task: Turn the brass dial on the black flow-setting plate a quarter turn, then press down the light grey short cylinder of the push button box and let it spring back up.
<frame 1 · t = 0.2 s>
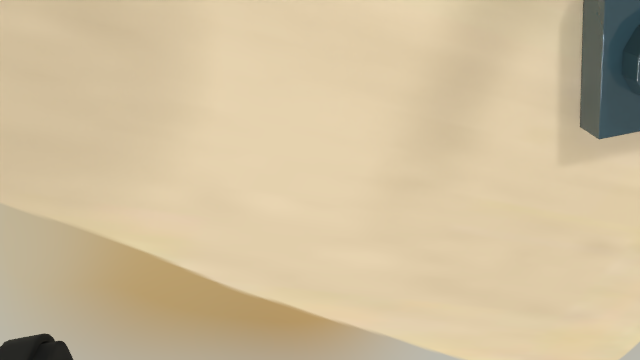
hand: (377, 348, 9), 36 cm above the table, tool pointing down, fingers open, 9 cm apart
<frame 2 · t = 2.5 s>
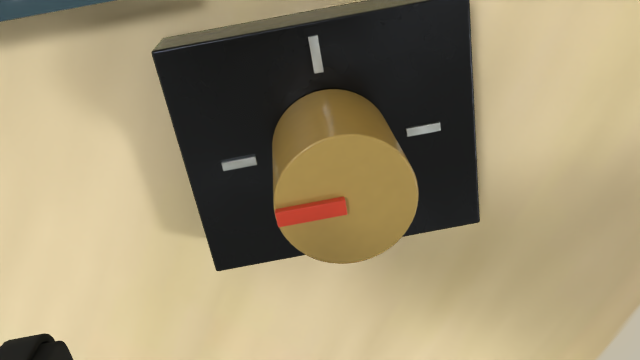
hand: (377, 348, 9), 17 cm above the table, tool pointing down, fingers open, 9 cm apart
dial: (338, 173, 21), point 5 cm above the table, hinge at 0.0°
dial plate: (325, 124, 25), on the table
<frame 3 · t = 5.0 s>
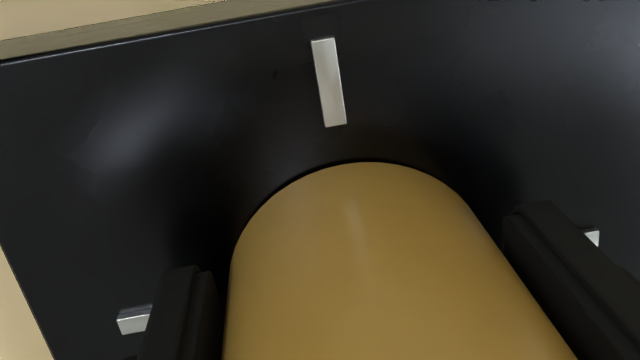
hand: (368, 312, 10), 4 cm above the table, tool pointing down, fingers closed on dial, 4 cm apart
dial plate: (342, 214, 13), on the table
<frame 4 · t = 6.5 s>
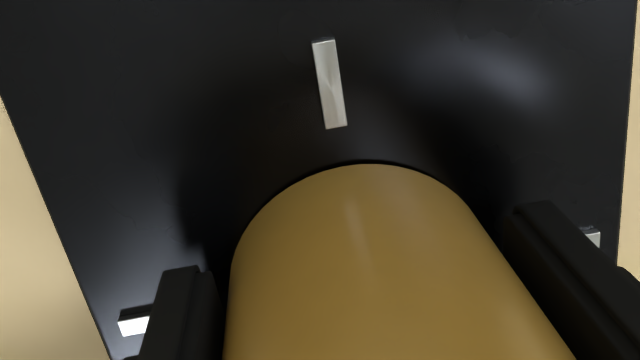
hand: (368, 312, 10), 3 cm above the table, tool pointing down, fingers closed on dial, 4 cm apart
dial plate: (343, 216, 13), on the table
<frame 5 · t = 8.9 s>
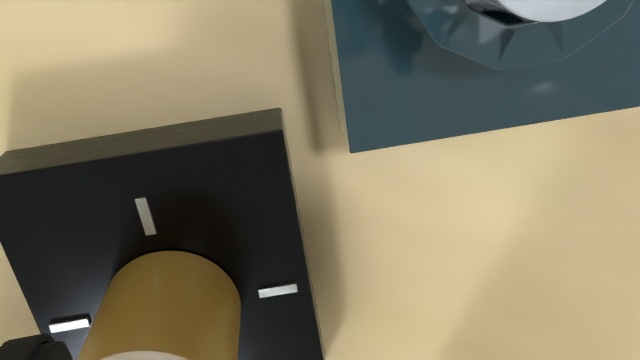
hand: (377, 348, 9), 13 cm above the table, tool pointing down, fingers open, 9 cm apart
dial: (162, 357, 18), point 5 cm above the table, hinge at 90.7°
dial plate: (183, 267, 23), on the table
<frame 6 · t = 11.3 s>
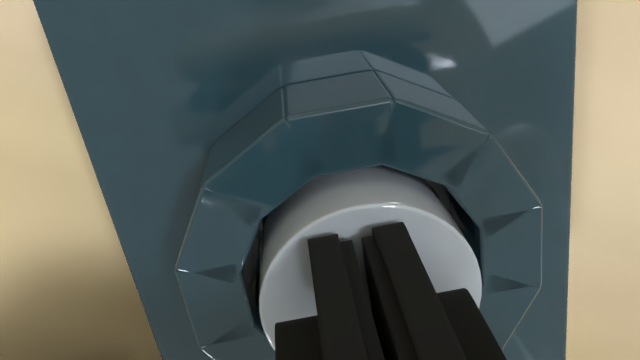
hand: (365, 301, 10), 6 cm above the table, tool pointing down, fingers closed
light grey short cylinder: (363, 272, 11), point 5 cm above the table, slide at -0.8 cm, touching gripper
push button box: (336, 173, 15), on the table
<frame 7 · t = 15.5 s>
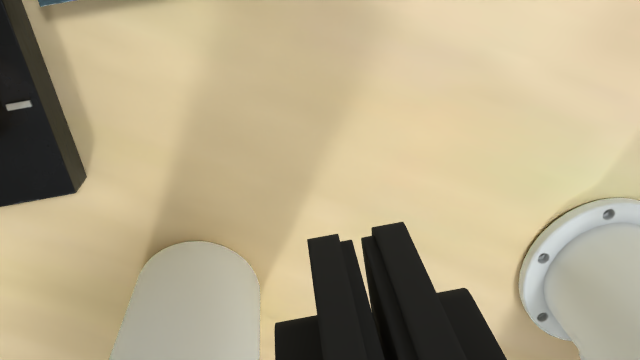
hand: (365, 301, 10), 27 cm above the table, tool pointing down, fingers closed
alcohol: (200, 285, 42), on the table
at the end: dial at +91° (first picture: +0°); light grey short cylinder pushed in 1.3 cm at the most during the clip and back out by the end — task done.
